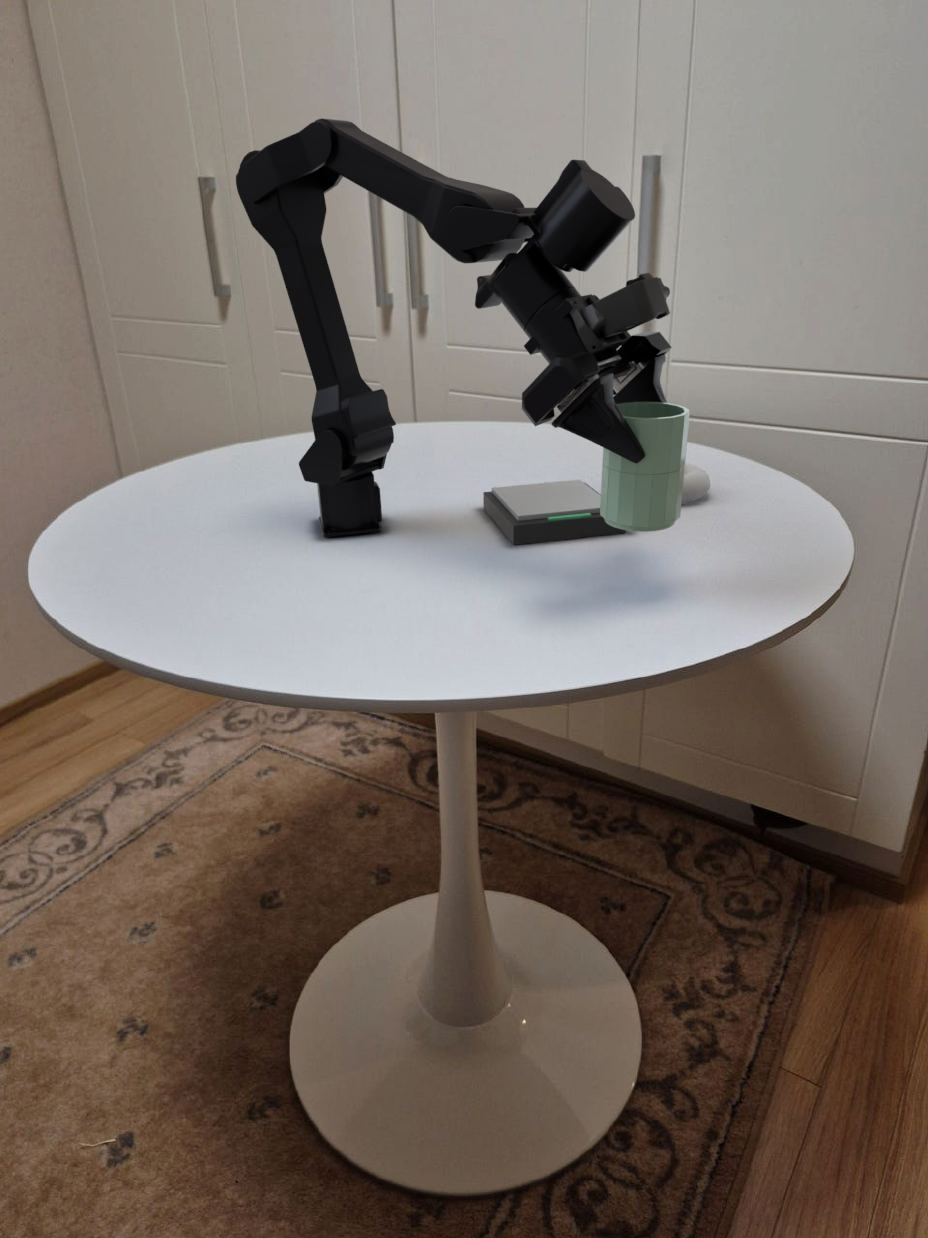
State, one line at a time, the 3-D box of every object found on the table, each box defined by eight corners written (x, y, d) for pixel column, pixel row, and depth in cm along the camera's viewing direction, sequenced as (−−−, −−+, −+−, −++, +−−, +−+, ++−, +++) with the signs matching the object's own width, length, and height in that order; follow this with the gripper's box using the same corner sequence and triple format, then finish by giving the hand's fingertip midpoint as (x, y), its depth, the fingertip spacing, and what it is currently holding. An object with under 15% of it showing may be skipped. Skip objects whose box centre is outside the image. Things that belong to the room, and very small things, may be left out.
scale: (513, 545, 93) (513, 520, 92) (483, 509, 104) (483, 487, 103) (625, 532, 95) (627, 508, 94) (584, 499, 107) (585, 477, 106)
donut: (699, 484, 112) (622, 483, 112) (702, 458, 110) (624, 458, 111) (717, 507, 103) (633, 507, 103) (720, 479, 101) (635, 479, 102)
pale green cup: (618, 536, 74) (625, 421, 70) (588, 512, 81) (592, 404, 76) (693, 528, 76) (704, 415, 72) (657, 505, 82) (666, 399, 78)
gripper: (558, 245, 63) (687, 410, 62) (658, 236, 77) (765, 372, 76) (471, 349, 71) (586, 498, 70) (576, 324, 85) (673, 448, 84)
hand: (658, 450), depth 75 cm, fingers closed on pale green cup, 7 cm apart
